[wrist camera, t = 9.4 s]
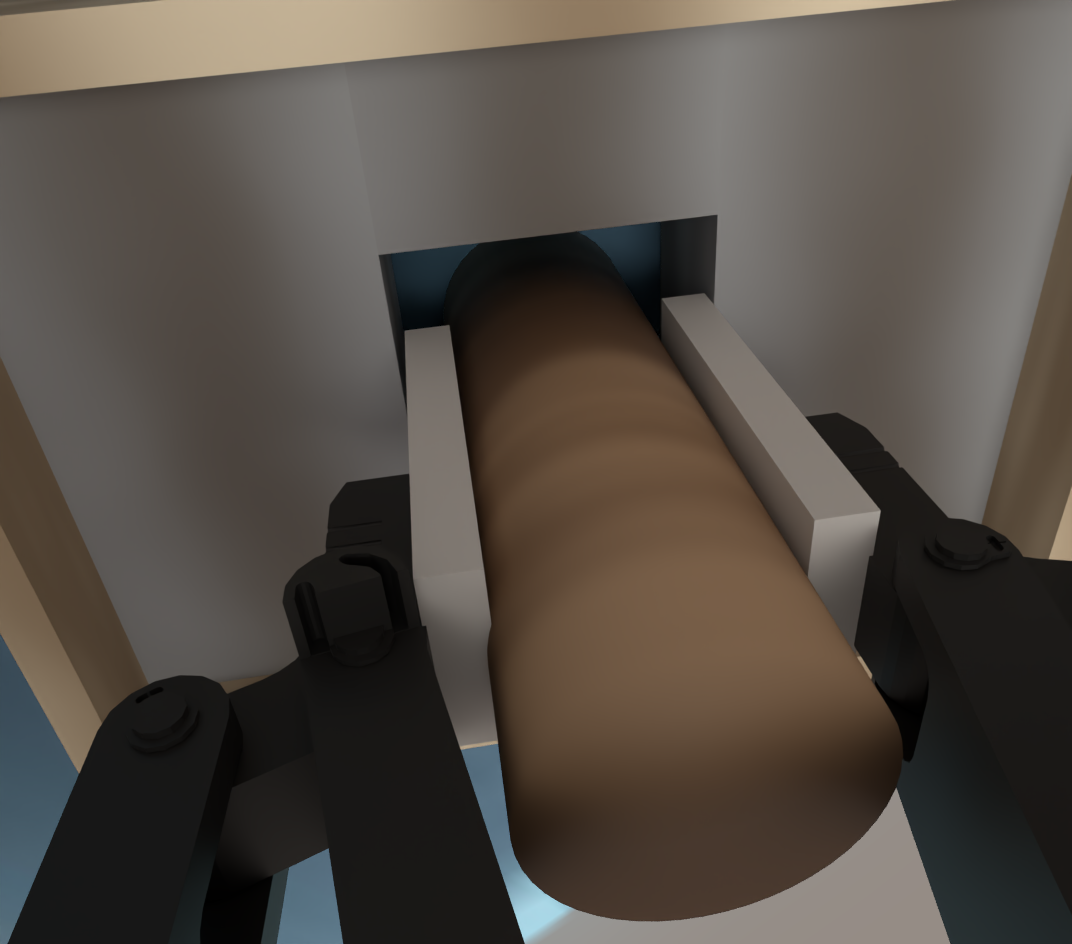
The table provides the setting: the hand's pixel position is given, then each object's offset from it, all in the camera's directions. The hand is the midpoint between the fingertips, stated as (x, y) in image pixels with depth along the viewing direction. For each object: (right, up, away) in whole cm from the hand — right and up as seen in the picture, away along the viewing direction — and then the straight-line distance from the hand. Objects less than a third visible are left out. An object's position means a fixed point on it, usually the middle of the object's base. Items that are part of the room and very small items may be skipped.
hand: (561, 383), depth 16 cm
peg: (0, +2, +3) cm, 3 cm away
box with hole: (-1, +2, +3) cm, 3 cm away
